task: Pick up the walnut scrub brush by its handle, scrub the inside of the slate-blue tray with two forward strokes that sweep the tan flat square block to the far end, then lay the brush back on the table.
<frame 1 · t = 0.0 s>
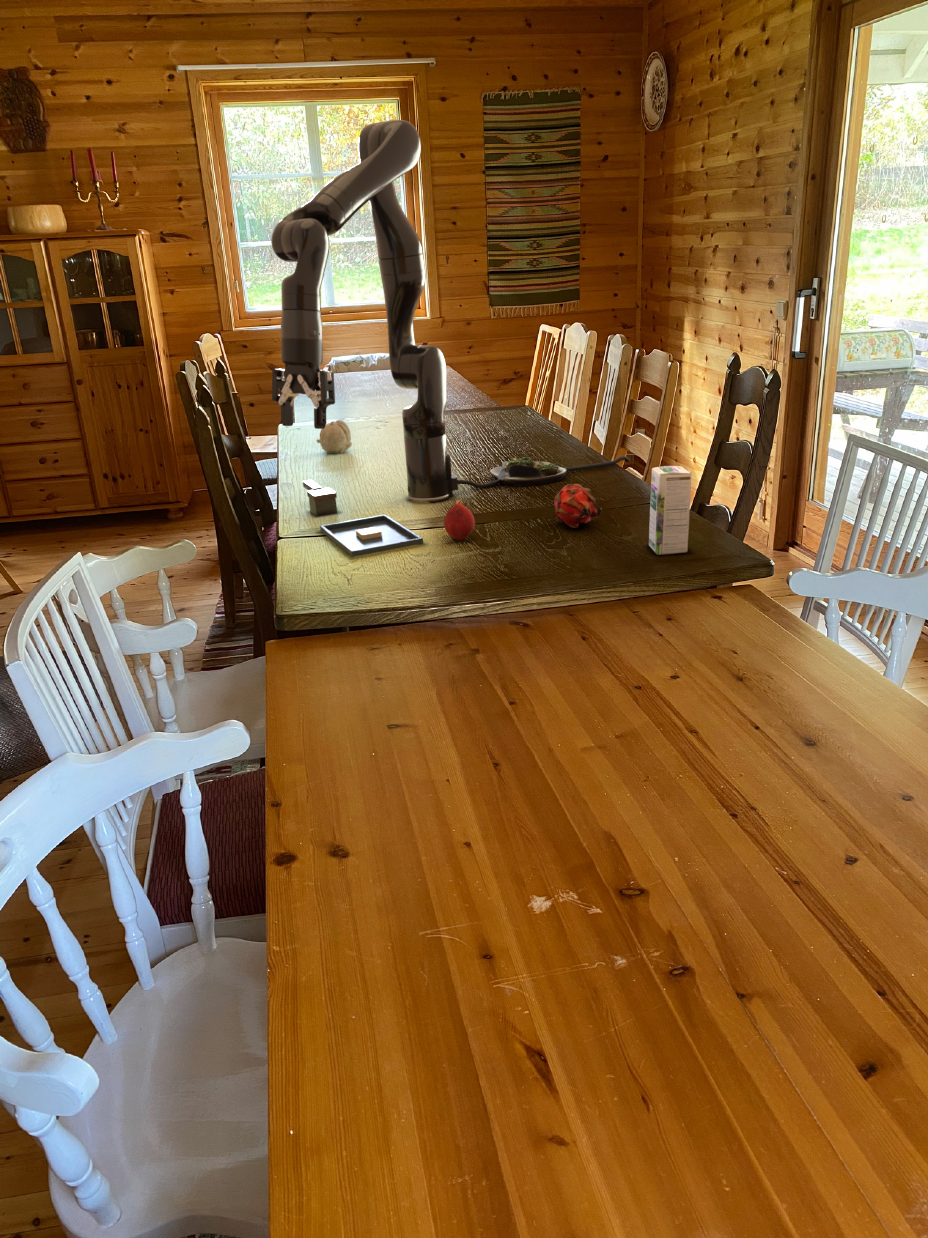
hand: (303, 427, 172), 22 cm above the table, tool pointing down, fingers open, 8 cm apart
tray: (370, 538, 180), on the table
syrup box: (668, 550, 164), on the table
garlic bulb: (335, 453, 259), on the table
salad plate: (527, 478, 219), on the table
tan flat square block: (368, 535, 180), resting on tray
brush: (317, 508, 204), on the table
dragon fruit: (576, 525, 181), on the table
onion: (460, 542, 175), on the table
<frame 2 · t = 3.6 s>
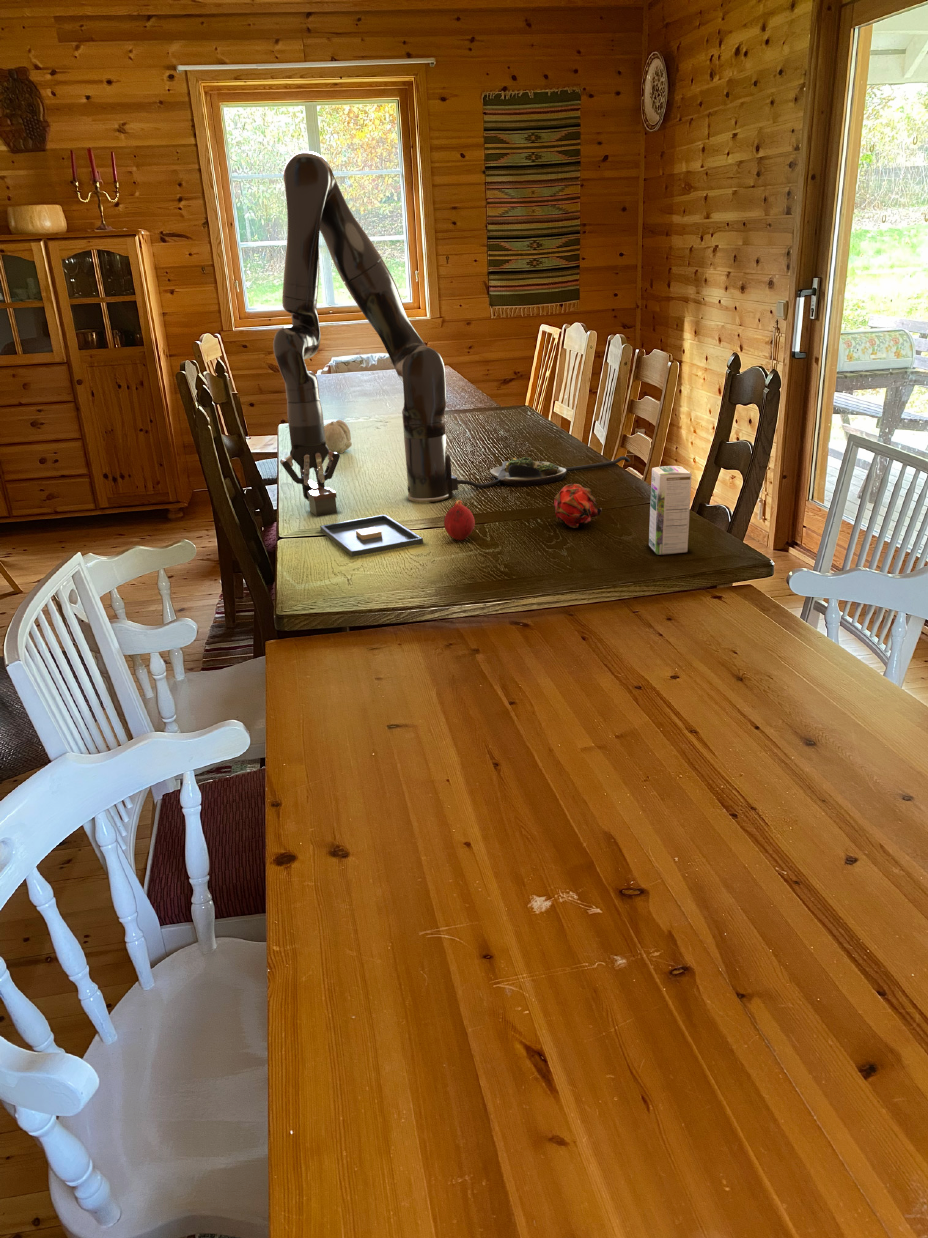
hand: (315, 499, 204), 2 cm above the table, tool pointing down, fingers closed on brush
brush: (317, 508, 204), on the table, touching gripper
everything else where it was.
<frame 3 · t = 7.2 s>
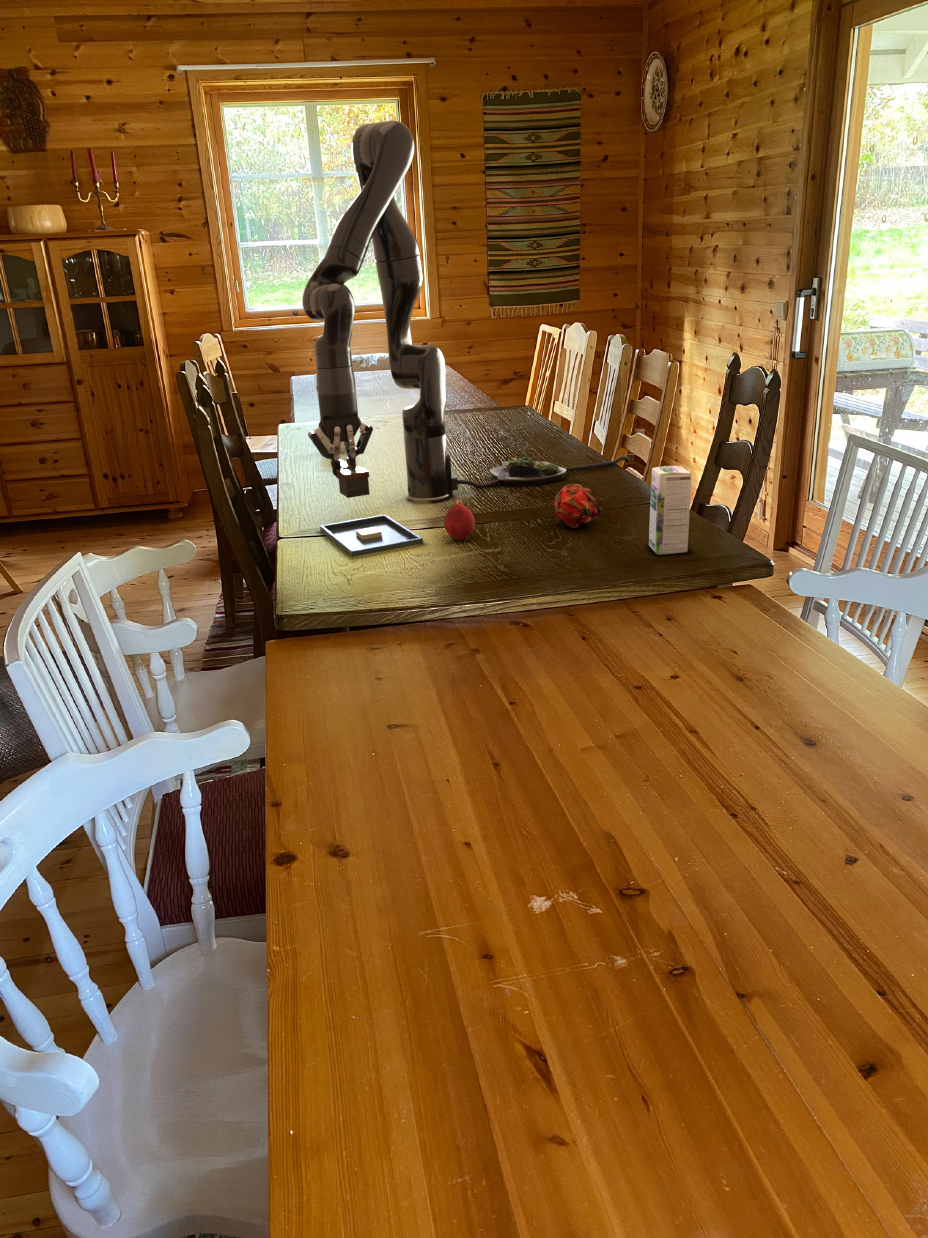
hand: (345, 476, 186), 10 cm above the table, tool pointing down, fingers closed on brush
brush: (347, 489, 186), point 8 cm above the table, touching gripper
everything else where it was.
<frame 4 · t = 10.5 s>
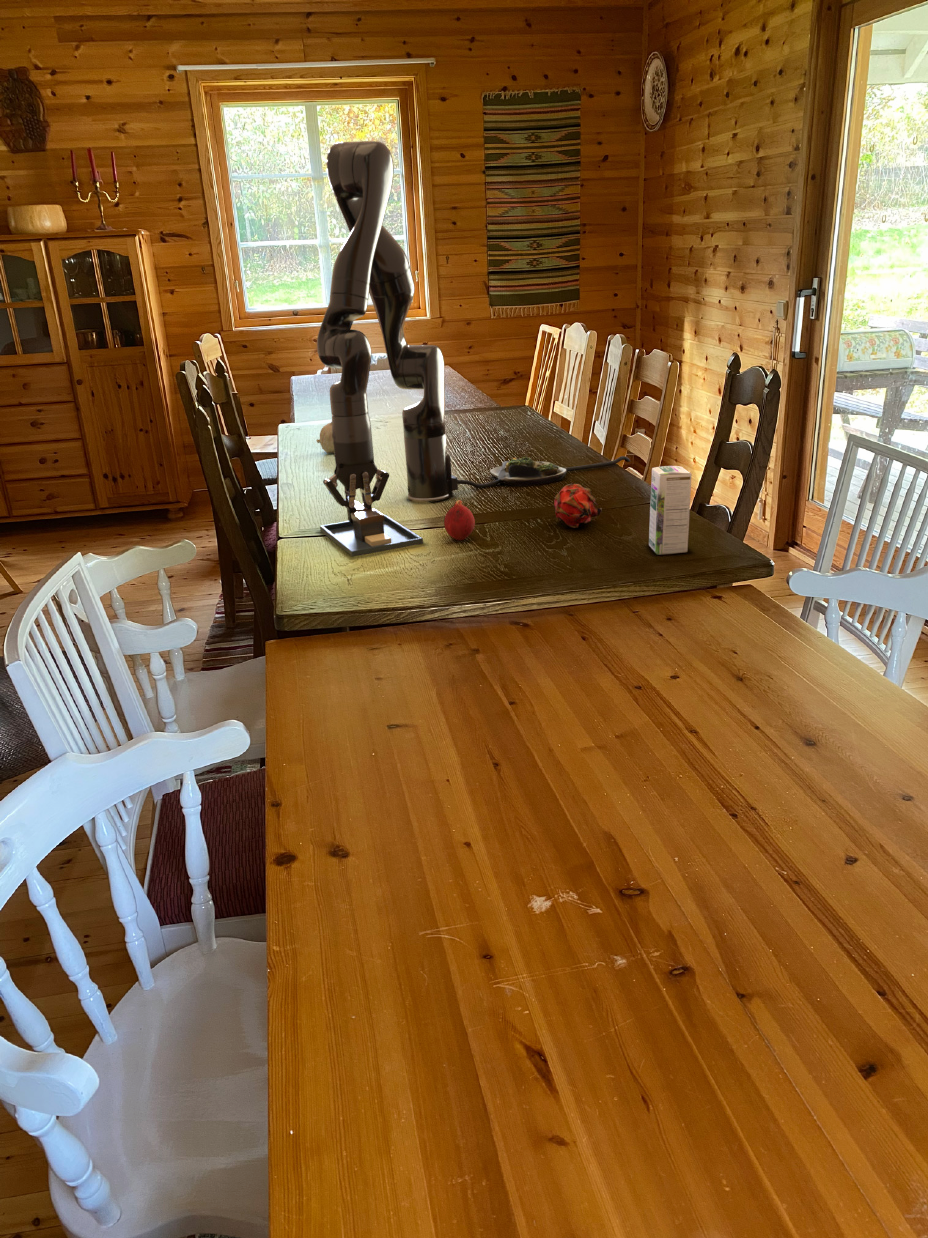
hand: (360, 523, 183), 2 cm above the table, tool pointing down, fingers closed on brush
tan flat square block: (378, 542, 176), resting on tray, touching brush
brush: (361, 531, 183), resting on tray, touching tan flat square block, gripper
everything else where it was.
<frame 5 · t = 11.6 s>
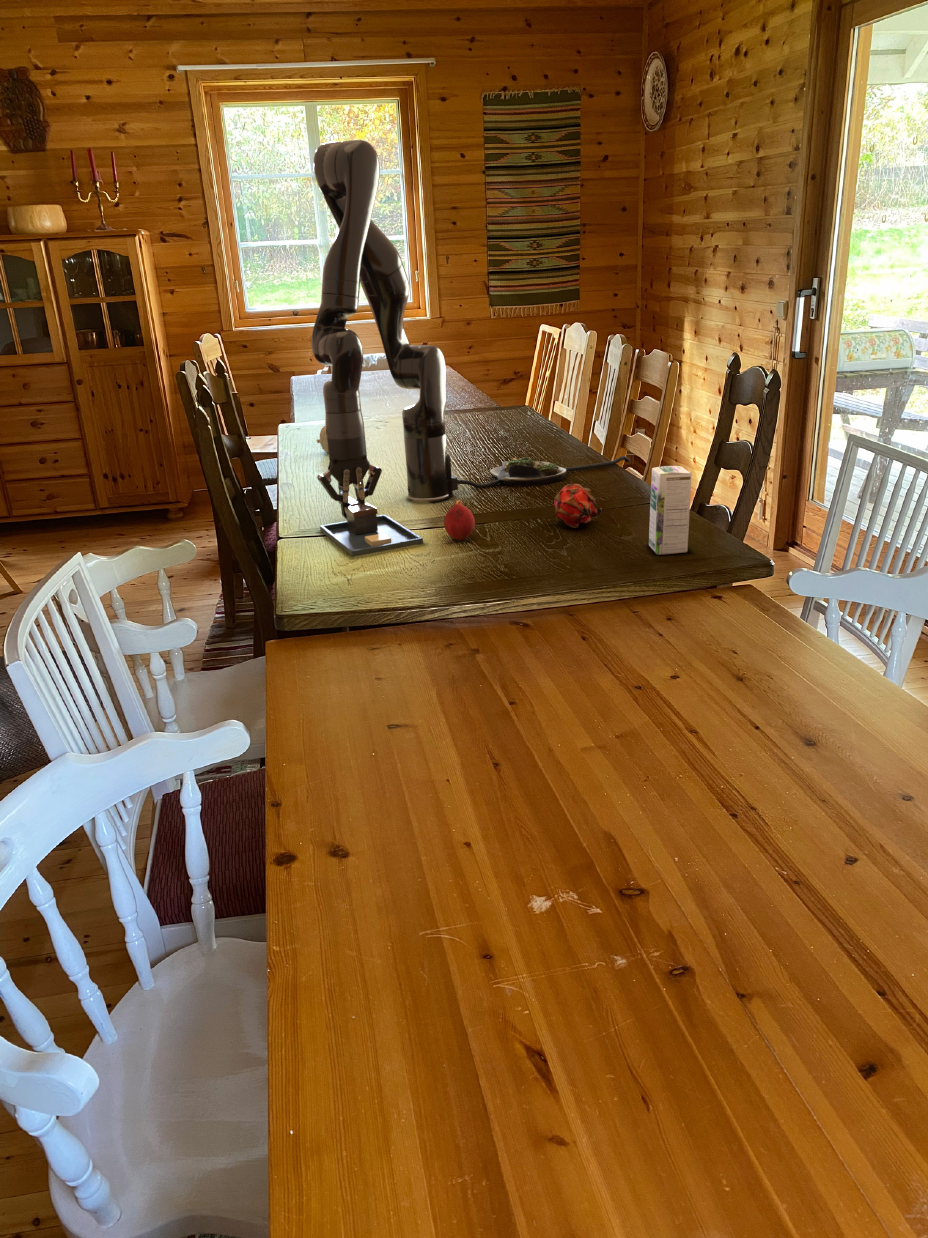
hand: (354, 517, 187), 2 cm above the table, tool pointing down, fingers closed on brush
tan flat square block: (378, 542, 176), resting on tray
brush: (355, 525, 188), resting in tray, touching gripper
everything else where it was.
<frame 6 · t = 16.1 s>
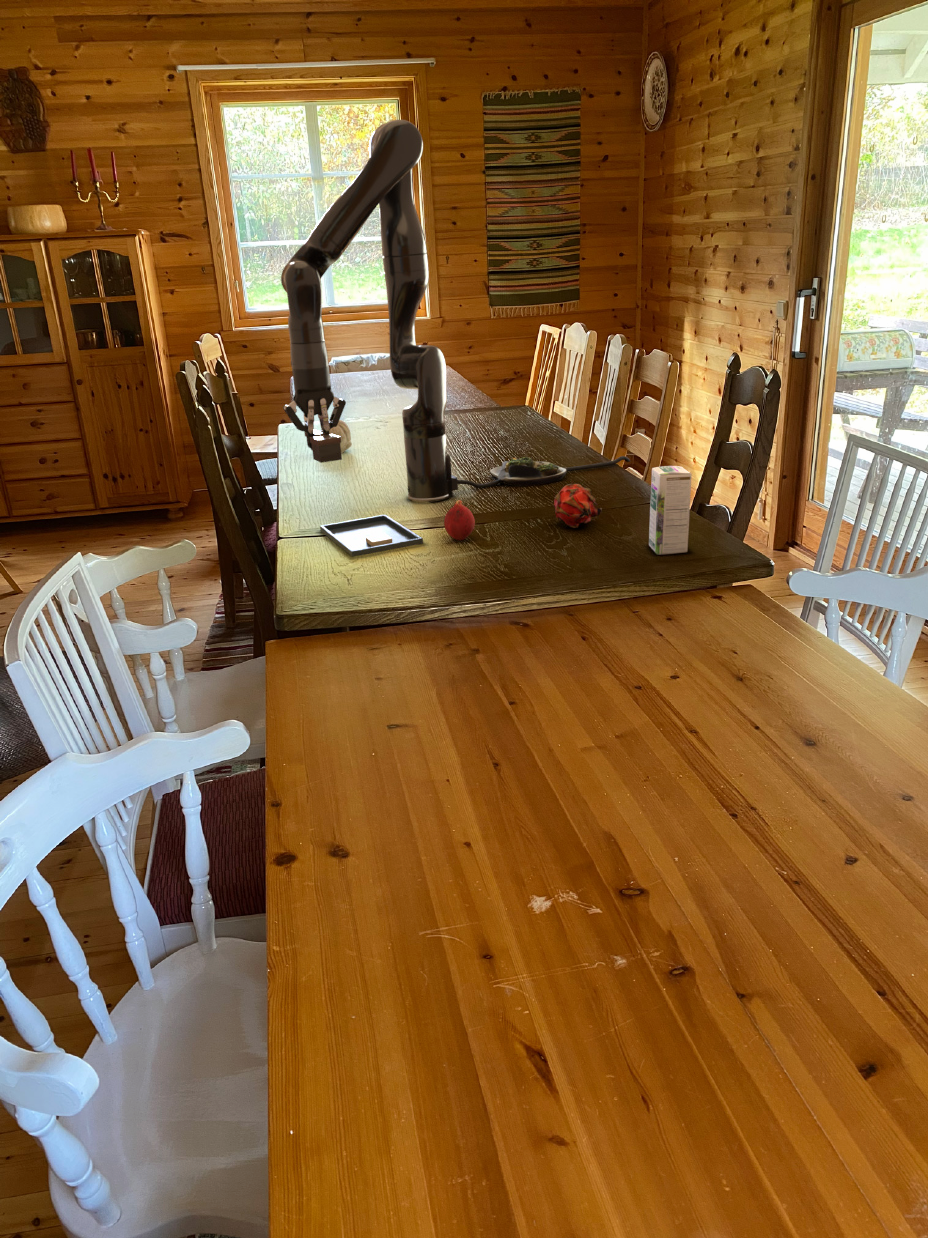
hand: (319, 448, 194), 14 cm above the table, tool pointing down, fingers closed on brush
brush: (320, 456, 194), point 13 cm above the table, touching gripper
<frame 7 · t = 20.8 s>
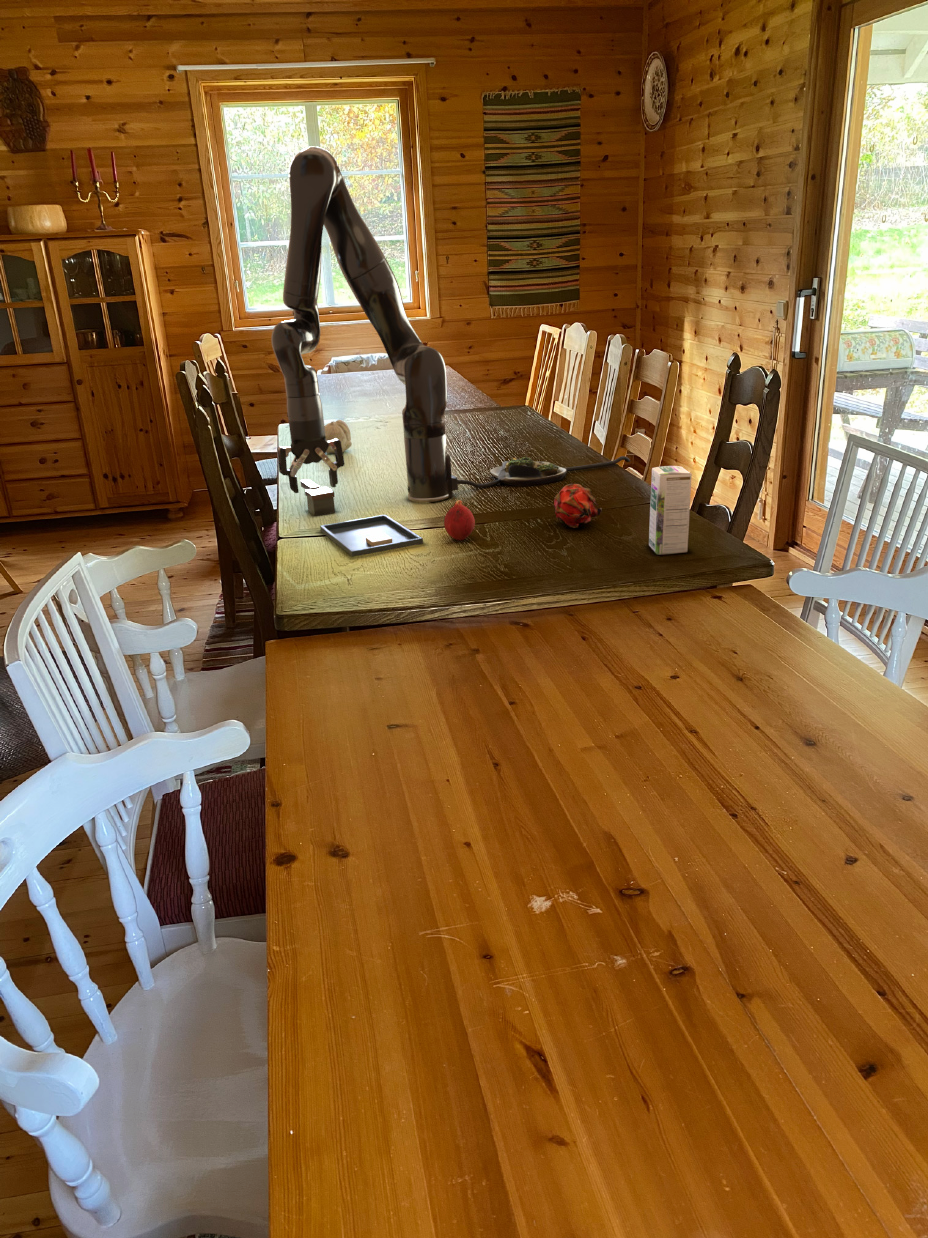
hand: (314, 489, 204), 4 cm above the table, tool pointing down, fingers open, 8 cm apart
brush: (315, 507, 204), on the table
everything else where it was.
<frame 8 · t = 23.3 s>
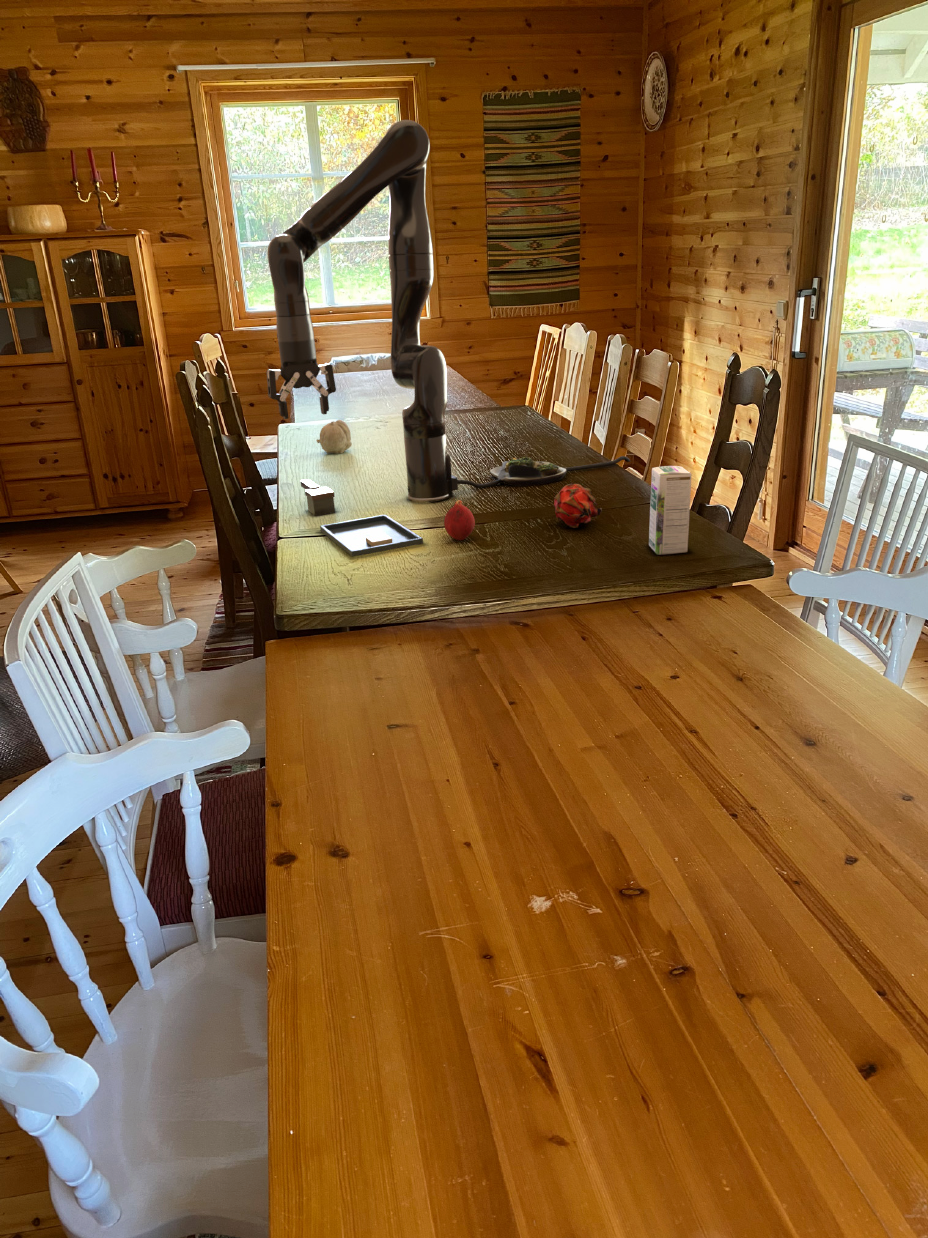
hand: (305, 416, 197), 20 cm above the table, tool pointing down, fingers open, 8 cm apart
nothing on the table moved.
at the end: tan flat square block inside the target area in the tray (1.7 cm from its centre), point 0.4 cm above the tray's base; the gripper is holding nothing; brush inside the target area (0.7 cm from its centre), on the table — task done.
